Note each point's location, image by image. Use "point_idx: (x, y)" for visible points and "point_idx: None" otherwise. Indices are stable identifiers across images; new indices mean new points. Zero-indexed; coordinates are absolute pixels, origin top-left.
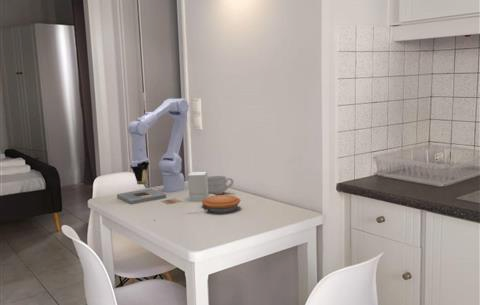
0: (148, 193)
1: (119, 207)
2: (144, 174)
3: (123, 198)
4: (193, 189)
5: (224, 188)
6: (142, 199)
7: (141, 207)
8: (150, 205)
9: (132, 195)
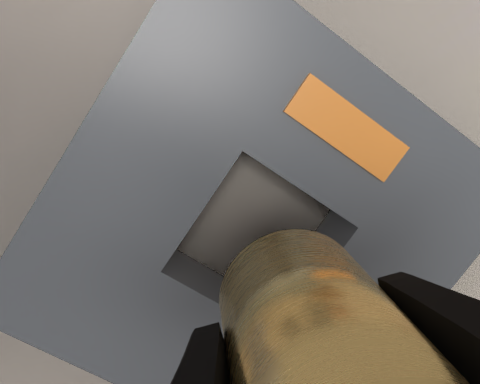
0: (203, 194)
1: (476, 279)
2: (373, 310)
3: None
4: None
5: None
6: (438, 119)
7: (459, 92)
8: (382, 44)
9: None
